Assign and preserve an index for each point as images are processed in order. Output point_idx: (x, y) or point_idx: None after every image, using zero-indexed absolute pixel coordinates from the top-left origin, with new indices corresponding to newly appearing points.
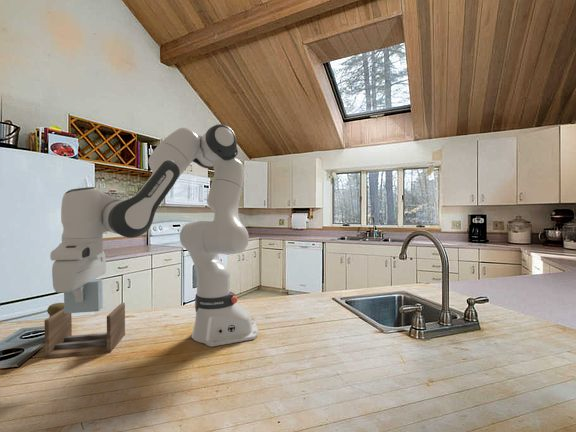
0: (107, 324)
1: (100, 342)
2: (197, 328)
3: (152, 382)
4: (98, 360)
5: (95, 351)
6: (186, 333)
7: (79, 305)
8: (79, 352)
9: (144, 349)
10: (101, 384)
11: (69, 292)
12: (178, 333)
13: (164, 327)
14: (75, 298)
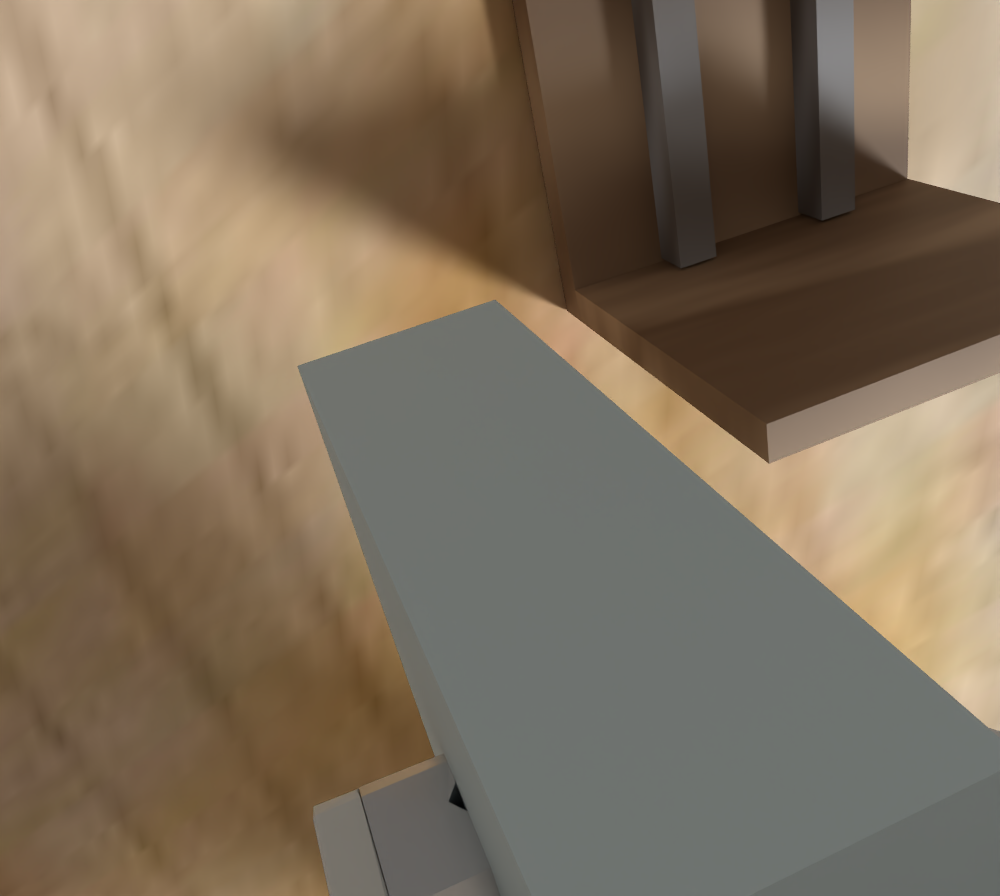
0: (705, 389)
1: (666, 174)
2: None
3: (192, 864)
4: (431, 304)
5: (552, 190)
6: None
7: (414, 684)
8: (529, 32)
9: None
10: (98, 597)
11: (463, 775)
12: None
13: (958, 454)
14: (331, 884)
